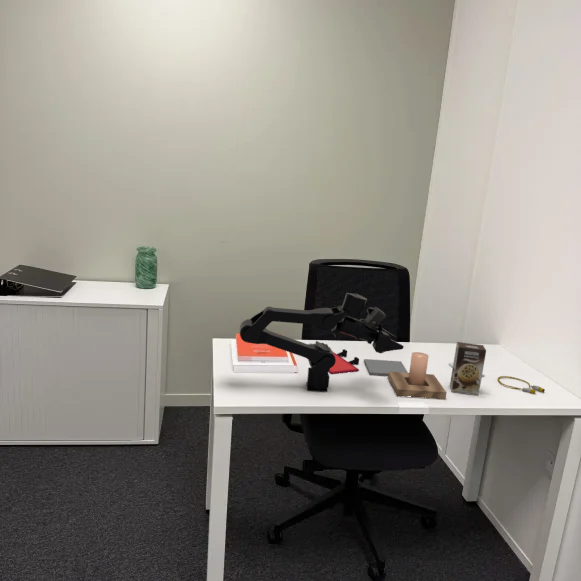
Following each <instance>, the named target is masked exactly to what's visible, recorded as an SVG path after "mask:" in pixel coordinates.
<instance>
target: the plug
mask: <svg viewBox="0 0 581 581" xmlns="http://www.w3.org/2000/svg"><path fill="white" fill-rule="evenodd" d="M429 357H430V356H429V354H427V353H425V352H417V351H415V352H411V356H410V364H409V371H408V373H409V379H408V385H418V386H424V385H425V378H426V374H427V370H428V363H429V362H428V361H429Z"/></svg>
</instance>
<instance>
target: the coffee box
mask: <svg viewBox="0 0 581 581" xmlns="http://www.w3.org/2000/svg"><path fill="white" fill-rule="evenodd" d="M486 354H487V349H486V348H485V345H484V344H476V343H470V342H469V343H468V342H460V341H457V342H456V346H455V353H454V358H453V362H452V363H453V368H452V371H451V377H450V382H449V387H450V390H451V392H452V393H458V394H466V395H471V394H472V395H473V396H479V395H480V389H481V383H482V378H483V377H482V374H484V372H483V371H484V366H485V360H486Z"/></svg>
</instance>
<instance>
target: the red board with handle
mask: <svg viewBox="0 0 581 581" xmlns="http://www.w3.org/2000/svg"><path fill="white" fill-rule="evenodd" d="M321 343H322V344H325V343H324V342H321ZM307 344H308V345H315V343H307ZM328 347H329V346H328ZM329 348H331V347H329ZM332 352H333V354H334V356H335V359H336V362H335V364H334V366H333V367H332V368H330V370H329V372H328V374H329V375H339V373H340V374H347V373H348V372H350V373H357V372H358V371H359V372H360V369H359V368H358V367H356V366H358V365H359V364H360V363H359V362H360V358H359V357H357V356H354V358H353V359H352V360H350V361H348V360H346V359H345V358H347V357H348V350H347V349H345V348H344V349H342V351H340V352H337V353H335V352H334V351H333V350H332ZM343 356H344V358H343ZM353 364H354V365H353ZM355 365H356V366H355Z"/></svg>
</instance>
